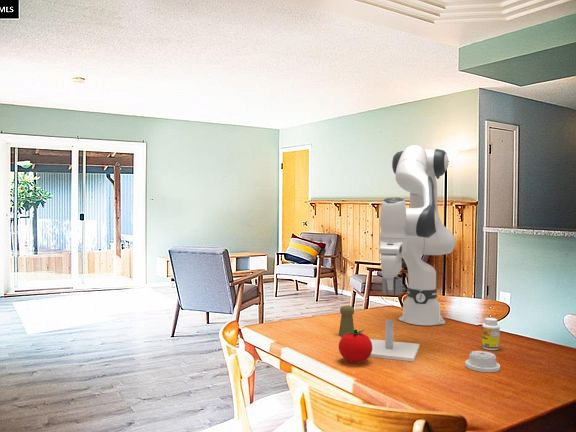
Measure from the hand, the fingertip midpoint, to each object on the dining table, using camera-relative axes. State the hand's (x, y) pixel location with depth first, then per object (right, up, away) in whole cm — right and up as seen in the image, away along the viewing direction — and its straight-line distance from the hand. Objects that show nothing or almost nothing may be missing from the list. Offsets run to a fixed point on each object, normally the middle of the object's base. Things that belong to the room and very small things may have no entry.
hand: (392, 288), depth 175 cm
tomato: (-14, -22, -12) cm, 28 cm away
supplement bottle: (+35, -22, +5) cm, 41 cm away
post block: (-1, -21, +1) cm, 21 cm away
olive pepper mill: (-13, -21, +21) cm, 32 cm away
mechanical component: (+24, -22, -16) cm, 36 cm away
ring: (0, -2, 0) cm, 2 cm away
